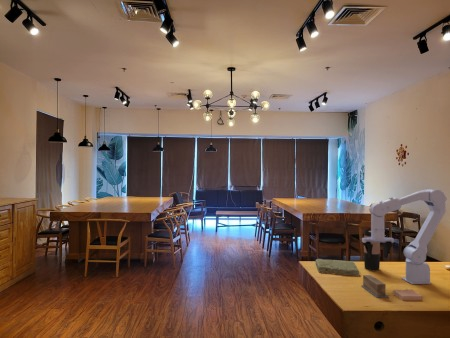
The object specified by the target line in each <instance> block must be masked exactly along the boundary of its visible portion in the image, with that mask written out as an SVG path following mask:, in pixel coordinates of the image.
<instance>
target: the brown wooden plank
mask: <svg viewBox="0 0 450 338" xmlns="http://www.w3.org/2000/svg"><path fill="white" fill-rule="evenodd" d="M362 285H363V286H365V287H366V288H368V289H369V290H370V291H372V292H373V293H374V294H376V295H377V296H379V295H387V294H386V291H387V289H386V287H387V286H386V283H384V282H382V281H381V280H380V279H377V278H376V277H375V276H373V275H371V274H363V275H362Z"/></svg>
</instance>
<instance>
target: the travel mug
mask: <svg viewBox="0 0 450 338" xmlns="http://www.w3.org/2000/svg"><path fill="white" fill-rule="evenodd" d="M363 234H364V235H363V238H368V237H371V229H365V230H363ZM371 244H373V247H372V258H369V257H368V254H367V251H366V248H365V246H364V245H363V258H364V259H363V263H364V264H363V265H364V269H365V270H367V271H371V272H377V271H380V265H381V264H380V263H381V262H380V260H381V259H380V258H381V242H371Z"/></svg>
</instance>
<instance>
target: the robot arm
mask: <svg viewBox="0 0 450 338" xmlns="http://www.w3.org/2000/svg"><path fill="white" fill-rule="evenodd" d="M447 200H448V198H447V196H446V195H445V193H444V191H442V190H441V189H431V188H425V189H423V190H421V189H420V190H417V191H416V192H413V193H409V194H408V195H405V196H403V197H400V198H398V197H393V196H390V197H389V198H388V199H386V200H380V201H379V202H378V203H376V202H375V203H372V204H371V205H370V208H369V209H368V210H369V212H370V215H371V216H370V218H371V219H370V223H371V224H370V230H371V237H368V238H364V237H362V238H361V242H362V243H363V247H364V246H365V248H366V251H367V254H368V257H369V258H372V247H373V244H371V242H380V243H382V247H383V251H382V252H383V258H385V259H388V257H389V254H390V251H391V249H392V248H393V246H394V241H395V239H394V238H393V237H385V216H386V214H389V213H391V212H394V211H398V210H401V208H402V207H403V206H404V205H407V204H411V203H415V202H418V201H422V202H423V201H424V203H425V204H426V205H427V207H428V209H429V213H428V214H427V217H426V219H425V220H424V222H423V223H422V226H421V227H420V229H419V231H418V233H417V235H416V237H415V238H414V239H413V240H412V241H410V243H409V244H408V245H407V246H405V248H404V249H403V252H402V253H403V256H404V257H405V277H404V276H403V277H401V279H402V280H403V281H406V282H407V283H409V284H411V285H426V284H427V285H430V284H432V282H431V267H430V265H429V264H428V263H427V262H426V260H427V253H428V247H427V246H428V244H429V243H430V241H431V239H432V238H433V236H434V233H435V232H436V230H437V228H438V226H439V225H440V223H441V221H442V219H443V217H444V216H445V213H446V202H447Z"/></svg>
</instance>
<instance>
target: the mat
mask: <svg viewBox="0 0 450 338" xmlns="http://www.w3.org/2000/svg"><path fill="white" fill-rule="evenodd" d="M361 287H362V288H363V289H364V290H365V291H367V292H368V293H370V294H371V295H372V296H374V297H375V298H377V299H379V298H385V299H386V298H389V295H387V294H386V295H379V296H377V295H376V294H374V293H373V292H372V291H370V290H369V289H368V288H366V287H365V286H363V284H362V285H361Z"/></svg>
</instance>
